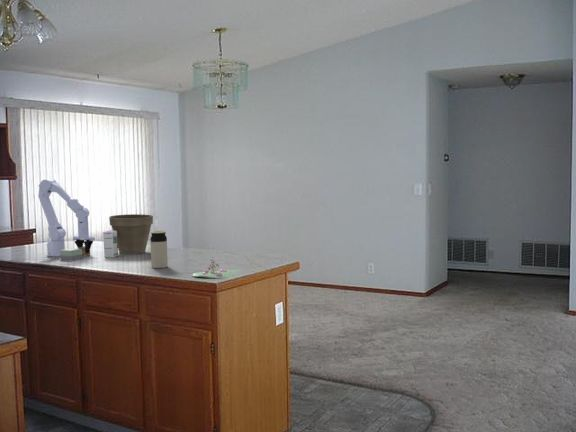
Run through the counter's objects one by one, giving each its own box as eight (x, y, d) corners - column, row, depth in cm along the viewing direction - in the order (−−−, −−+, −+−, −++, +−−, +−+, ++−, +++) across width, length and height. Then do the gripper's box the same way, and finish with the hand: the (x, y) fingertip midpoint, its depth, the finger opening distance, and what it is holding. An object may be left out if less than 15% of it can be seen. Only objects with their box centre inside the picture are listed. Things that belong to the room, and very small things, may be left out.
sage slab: (60, 255, 346) (60, 250, 346) (72, 253, 353) (71, 248, 353) (70, 256, 342) (70, 250, 342) (82, 254, 349) (81, 248, 349)
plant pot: (161, 252, 366) (159, 215, 364) (119, 257, 352) (118, 218, 350) (144, 248, 387) (143, 213, 385) (104, 252, 373) (103, 215, 371)
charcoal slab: (60, 260, 346) (60, 255, 346) (71, 258, 353) (71, 253, 353) (71, 261, 343) (71, 256, 342) (82, 259, 350) (82, 254, 350)
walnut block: (78, 255, 361) (78, 247, 361) (84, 254, 365) (83, 246, 365) (84, 256, 359) (84, 247, 359) (90, 255, 363) (89, 246, 363)
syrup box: (113, 257, 353) (112, 231, 351) (103, 257, 354) (102, 231, 353) (118, 255, 358) (117, 230, 357) (108, 255, 359) (107, 230, 358)
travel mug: (168, 267, 313) (167, 231, 311) (152, 269, 310) (150, 232, 309) (166, 265, 320) (165, 230, 319) (150, 266, 318) (149, 231, 316)
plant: (217, 269, 309) (217, 251, 308) (251, 272, 298) (251, 253, 297) (182, 277, 288) (182, 258, 288) (217, 281, 277) (217, 261, 276)
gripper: (97, 228, 361) (99, 252, 362) (78, 228, 368) (80, 251, 369) (89, 230, 355) (90, 254, 356) (69, 229, 361) (70, 253, 362)
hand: (84, 252), depth 362 cm, fingers closed on walnut block, 4 cm apart
